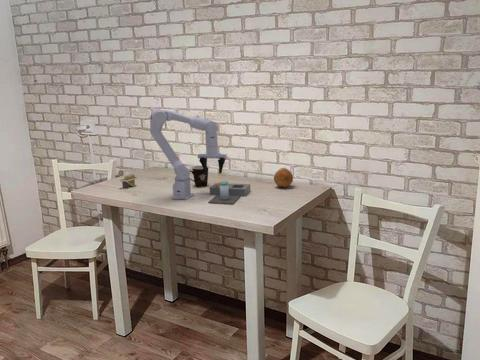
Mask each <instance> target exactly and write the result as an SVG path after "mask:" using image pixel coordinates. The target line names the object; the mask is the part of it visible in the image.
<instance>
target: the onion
mask: <svg viewBox="0 0 480 360" xmlns="http://www.w3.org/2000/svg"><path fill="white" fill-rule="evenodd" d="M293 175H294V174H292V171H290V169H288V168H286V167H281V168H279V169H278V170H276V172H275V173H274V175H273V181H274V183H275V184H276V186H278V187H280V188H282V189H283V188H288V187H289V186H291V185H292V183H293V181H294V176H293Z"/></svg>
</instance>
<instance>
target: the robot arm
mask: <svg viewBox="0 0 480 360" xmlns="http://www.w3.org/2000/svg"><path fill="white" fill-rule="evenodd" d="M166 121H167V122H170V121H178V122H181V123H184V124H188V125H189V126H190V128H191V129H195V130H200V131H202V132H204V131H205V151H206V152H205V153H198V154H197V159H198V160H199V163H200V164H201V166H203V169H204V173H207V166H208V159H217V163H218V171H219V172H218V174H222V173H223V168H224V165H225V162H226V160H227V159H228V154H227V153H226V154H224V153H219V147H218V146H219V145H218V143H219V142H218V131H219V126H218V124H217V122H215V121H213V120H211V119H209V118H205V117H200V115H197V114H196V115H193V116H187V115H185V114H181V113H179V112H178V113H177V112H175V111H172V110H167V109H163V110H162V109H161V108H156V109H154V110H152V112H151V114H150V117H149V132H150V135H151V136H152V137H153V139H154V141H155V143H156V144H157V145H158V146H159V148H160V149H161V151H162V152H163V154H164V156H165V157H166V158H167V160H168V161H169V163H170V164H171V166H172V167H173V170H174V171H173V172H174V173H175V177H174V183H173V184H172V197H171V200H188V199H190V198H191V197H192V196H194V195H195V193H192V192H191V180H190V179H191V177H190V176H191V175H190V174H191V172H190V171H191V170H190V169H189V168H188V167H187V165H186V164H184V163H182V161H181V159H180V157H178V155H177V154H176V152H175V150H174V149H173V148H172V146H171V145H170V143H169V141H168V140H167V138H166V137H165V135H164V134H163V133H162V129H163V127H164V125H165V123H166Z"/></svg>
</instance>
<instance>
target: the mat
mask: <svg viewBox="0 0 480 360" xmlns="http://www.w3.org/2000/svg"><path fill="white" fill-rule="evenodd" d="M240 198H241V196H229V199H228V200H221V199H220V195H214V197H212V198H211V199H210V200H209V201H207V203H208V204H214V205H216V204H218V205H232V206H233V205H234V204H235V203H237V201H238V200H239V199H240Z"/></svg>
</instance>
